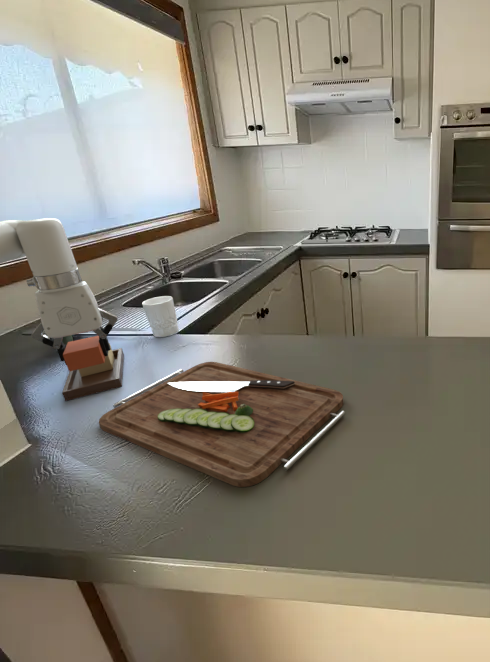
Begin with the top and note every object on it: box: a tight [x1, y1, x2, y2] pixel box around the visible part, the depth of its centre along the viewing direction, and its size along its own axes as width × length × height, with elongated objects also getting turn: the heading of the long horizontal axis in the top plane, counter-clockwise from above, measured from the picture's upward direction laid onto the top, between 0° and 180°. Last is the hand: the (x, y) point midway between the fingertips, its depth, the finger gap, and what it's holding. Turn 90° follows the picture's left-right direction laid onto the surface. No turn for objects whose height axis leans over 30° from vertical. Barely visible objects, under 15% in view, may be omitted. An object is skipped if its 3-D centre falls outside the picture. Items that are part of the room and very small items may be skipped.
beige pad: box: [79, 342, 114, 377], centre depth 102 cm, size 6×8×4 cm
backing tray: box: [61, 347, 125, 402], centre depth 99 cm, size 11×20×2 cm, turn 28°
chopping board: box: [98, 361, 346, 488], centre depth 80 cm, size 45×27×3 cm, turn 61°
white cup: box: [141, 295, 180, 338], centre depth 121 cm, size 8×8×10 cm
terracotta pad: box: [63, 335, 105, 372], centre depth 93 cm, size 6×8×4 cm
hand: (87, 357), depth 93 cm, fingers closed on terracotta pad, 6 cm apart
